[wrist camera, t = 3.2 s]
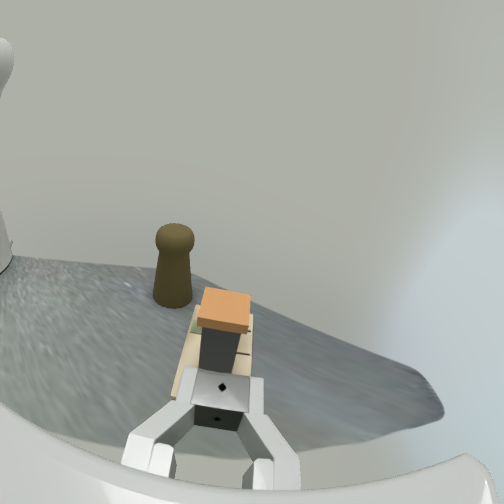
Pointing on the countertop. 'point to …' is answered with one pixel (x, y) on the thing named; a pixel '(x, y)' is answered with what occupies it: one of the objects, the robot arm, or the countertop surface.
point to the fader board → (193, 350)
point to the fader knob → (221, 328)
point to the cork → (173, 266)
